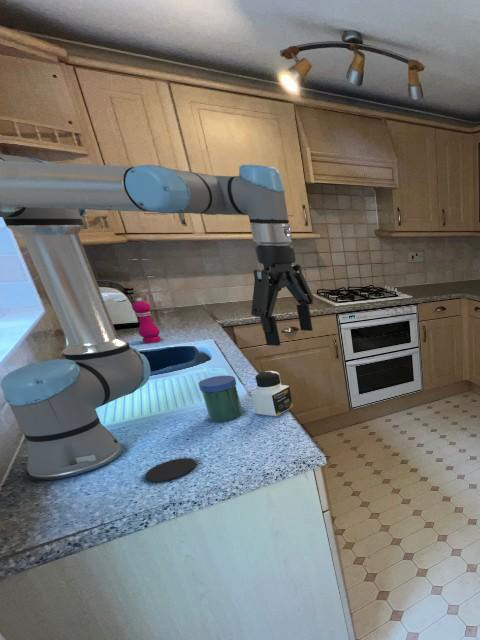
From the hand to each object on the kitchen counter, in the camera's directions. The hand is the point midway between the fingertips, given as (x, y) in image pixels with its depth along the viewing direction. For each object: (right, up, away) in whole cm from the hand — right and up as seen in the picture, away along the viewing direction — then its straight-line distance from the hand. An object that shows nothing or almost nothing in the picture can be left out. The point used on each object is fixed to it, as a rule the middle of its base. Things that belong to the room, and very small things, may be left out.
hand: (291, 337), depth 97 cm
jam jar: (-30, -21, +20) cm, 42 cm away
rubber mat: (-24, -31, -6) cm, 40 cm away
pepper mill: (-113, +8, +89) cm, 144 cm away
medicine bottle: (-18, -19, +24) cm, 36 cm away
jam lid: (-30, -11, +16) cm, 36 cm away
